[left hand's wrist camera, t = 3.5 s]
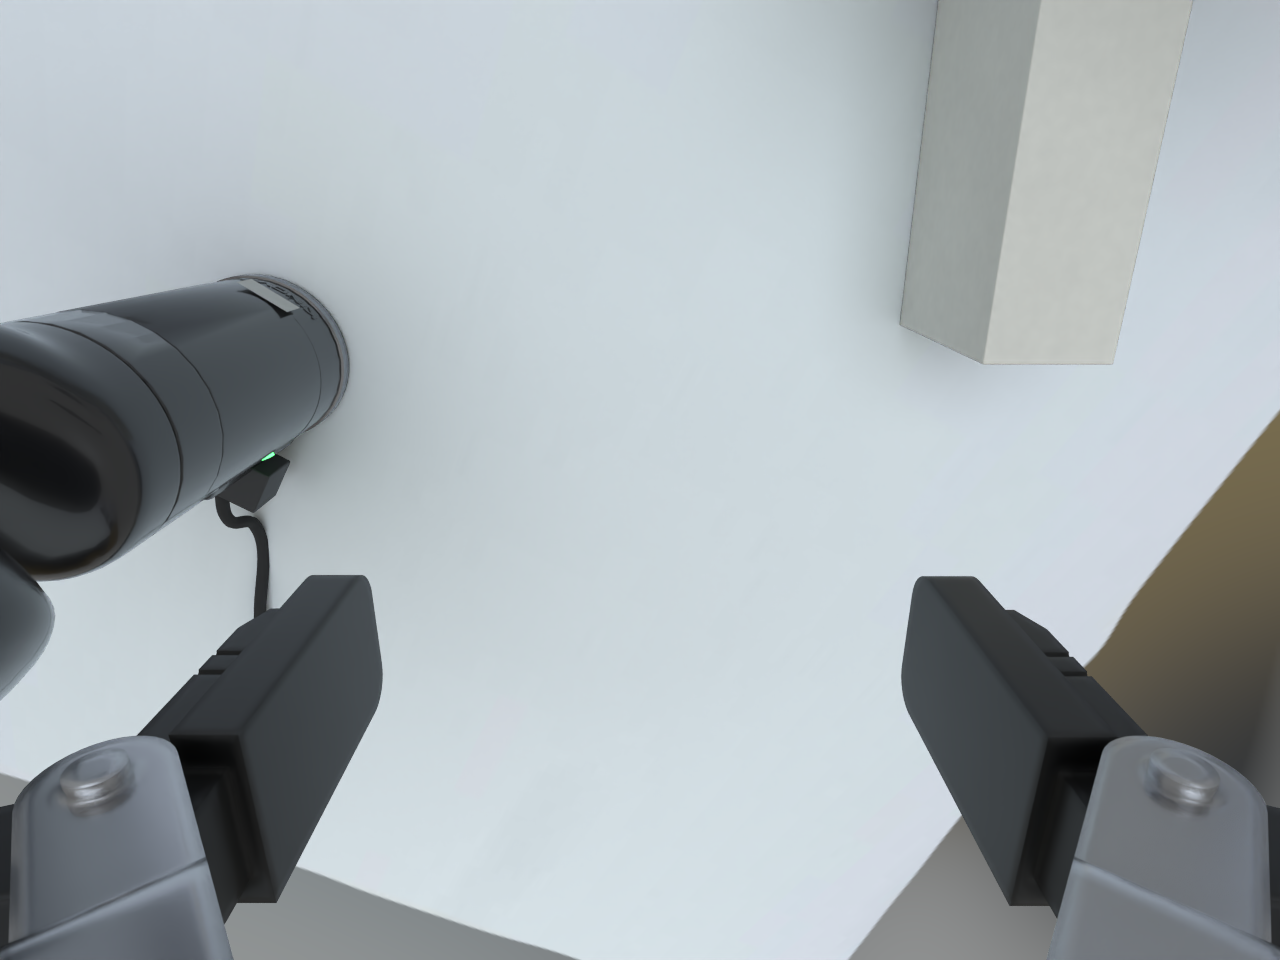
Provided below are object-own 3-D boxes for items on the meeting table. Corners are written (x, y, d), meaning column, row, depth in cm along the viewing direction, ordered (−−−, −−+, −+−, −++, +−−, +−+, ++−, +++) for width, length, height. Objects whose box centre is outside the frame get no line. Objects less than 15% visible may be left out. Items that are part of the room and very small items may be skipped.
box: (998, 325, 44) (1113, 364, 33) (899, 325, 44) (982, 364, 33) (1084, -197, 35) (1275, -367, 25) (961, -198, 35) (1099, -368, 25)
